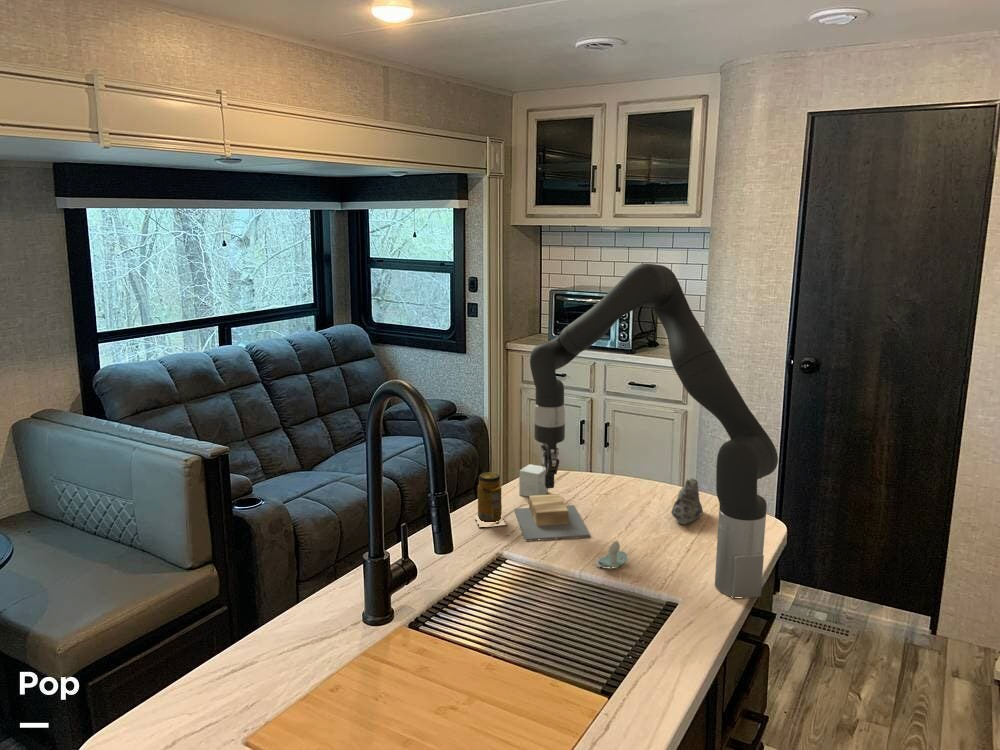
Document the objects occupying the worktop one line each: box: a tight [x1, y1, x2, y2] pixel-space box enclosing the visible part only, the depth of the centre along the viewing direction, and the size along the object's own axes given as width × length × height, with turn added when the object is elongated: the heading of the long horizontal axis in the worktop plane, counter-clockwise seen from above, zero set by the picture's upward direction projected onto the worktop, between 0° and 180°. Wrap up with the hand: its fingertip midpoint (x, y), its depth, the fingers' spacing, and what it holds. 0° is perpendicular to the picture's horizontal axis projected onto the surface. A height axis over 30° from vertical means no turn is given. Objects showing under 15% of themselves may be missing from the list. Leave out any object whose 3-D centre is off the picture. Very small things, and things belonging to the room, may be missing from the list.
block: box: [528, 493, 568, 526], centre depth 196 cm, size 4×8×11 cm
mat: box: [513, 504, 591, 541], centre depth 193 cm, size 18×16×1 cm
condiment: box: [477, 471, 503, 522], centre depth 194 cm, size 7×8×12 cm
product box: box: [518, 463, 549, 498], centre depth 211 cm, size 6×6×7 cm
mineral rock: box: [671, 477, 704, 525], centre depth 195 cm, size 13×11×10 cm
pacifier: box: [594, 540, 628, 568], centre depth 171 cm, size 7×6×6 cm
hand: (549, 487), depth 193 cm, fingers closed
